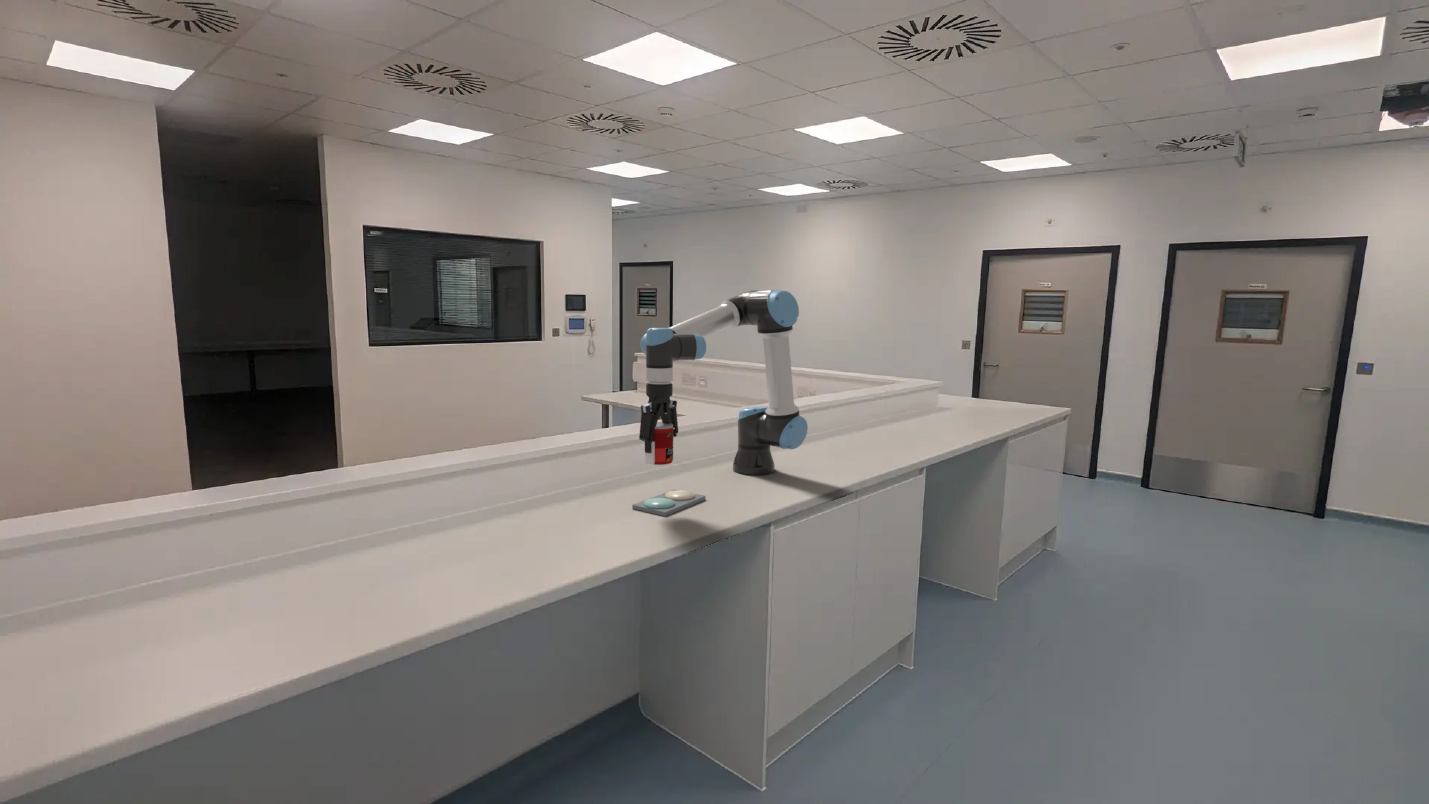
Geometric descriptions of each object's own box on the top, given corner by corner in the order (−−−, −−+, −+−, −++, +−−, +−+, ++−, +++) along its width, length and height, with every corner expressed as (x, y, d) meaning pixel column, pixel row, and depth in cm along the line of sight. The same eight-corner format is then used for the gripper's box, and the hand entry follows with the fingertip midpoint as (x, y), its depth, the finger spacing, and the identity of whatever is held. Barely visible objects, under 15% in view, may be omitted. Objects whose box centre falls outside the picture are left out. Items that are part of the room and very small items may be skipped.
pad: (657, 498, 196) (657, 496, 196) (681, 503, 191) (681, 501, 191) (637, 505, 188) (637, 503, 188) (661, 510, 183) (661, 508, 183)
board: (674, 493, 205) (674, 487, 205) (705, 499, 199) (705, 494, 198) (632, 508, 189) (632, 502, 188) (665, 516, 182) (665, 510, 182)
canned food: (672, 465, 184) (672, 427, 182) (643, 464, 184) (643, 426, 182) (674, 459, 191) (674, 422, 190) (647, 458, 191) (647, 421, 190)
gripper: (671, 378, 195) (670, 453, 198) (625, 384, 178) (625, 466, 181) (691, 380, 191) (690, 456, 194) (646, 386, 174) (646, 469, 177)
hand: (659, 461), depth 188 cm, fingers closed on canned food, 8 cm apart
